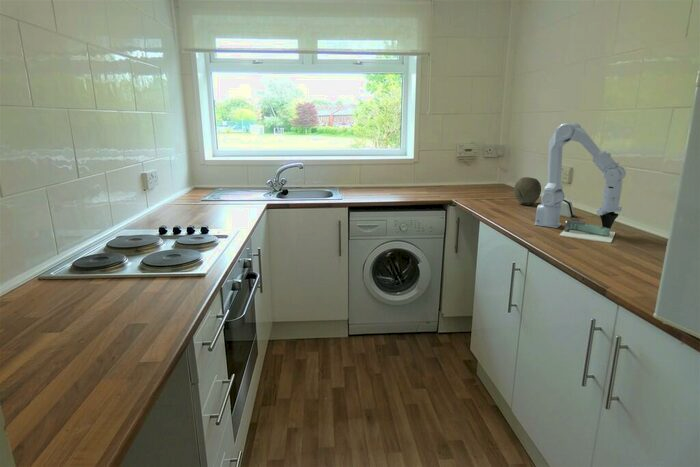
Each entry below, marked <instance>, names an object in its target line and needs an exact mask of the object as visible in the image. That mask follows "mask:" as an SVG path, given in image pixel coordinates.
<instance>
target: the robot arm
mask: <svg viewBox="0 0 700 467" xmlns="http://www.w3.org/2000/svg"><path fill="white" fill-rule="evenodd" d="M554 130H555V131H554V133H553V135H552V136H551V138H550V140H549V143H548V154H547V155H548V157H547V159H548V161H547V179H546V180H547V181H546V185H545V186H544V188H543V192H542V195H541V198H540V199H541V200H542V202H543V205H541V204H538V205H537V207H536V212H535V221H534V226H539V227H540V226H541V227H549V228H555V229H558V228H559V227H560V226H561V225H562V223H560V218H561V215H560V210H561V202H562V201H563V200H564V198H565V197H566V196H565V192H564V190H563V188H564V186H563V185H562V184H561V182H562V162H563V161H562V159H563V147H564V146H565V145H566V144H567V143H569V142H570V141H574V142H577V143H580V144H581V145H582V147H583V148H585V150H587V151H588V153H590V155H591V156H592V162H593V163H594V164H595V166H596V167H597V168H598V169H599V170H600V172H601V173H602V174H604V175H603V177H604V178H603V179H605V184H604V190H603V195H602V202H601V207H600V208H598V209H596V215H598V216H599V218H600V220H601V225H602V226H601V227H606V228H610V230H611V228H612V226H613V224H614V222H615V221H616V219H617V218H618V217H619V212H622V206H620V205H619V204H620V199H621V194H622V187H623V185H622V184H623V180H624V178H625V177H626V174H627V173H626V170H625V168H624V167H623V166H621V165H620V164H619V162H616V161H615V159H613V157H612V154H611V153H610V152H607V151H606V150H604V151H603V150H601V149H600V148H599V147H598V145H597V144H596V143H595V142H594V140H593V138H591V136H590V135H589V134H588V133H587V131H586V130H585V129H584V128H583V127H582V126H581V125H580V124H579V123H577V122H573V123H567V122H565V123H562V124H560V125H558V127H556V128H555V129H554ZM541 200H540V201H541Z"/></svg>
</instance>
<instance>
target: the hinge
mask: <svg viewBox="0 0 700 467" xmlns="http://www.w3.org/2000/svg"><path fill="white" fill-rule="evenodd" d="M540 205H543V202H542V200H540ZM561 216H562V217H567V218H572V216H573V217H576V216H577V214H576V212H574V206H573V202H572V201H571V200H569V199H568V198H565V197H564V200H563V201H562V202H561V210H560V217H561Z"/></svg>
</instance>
